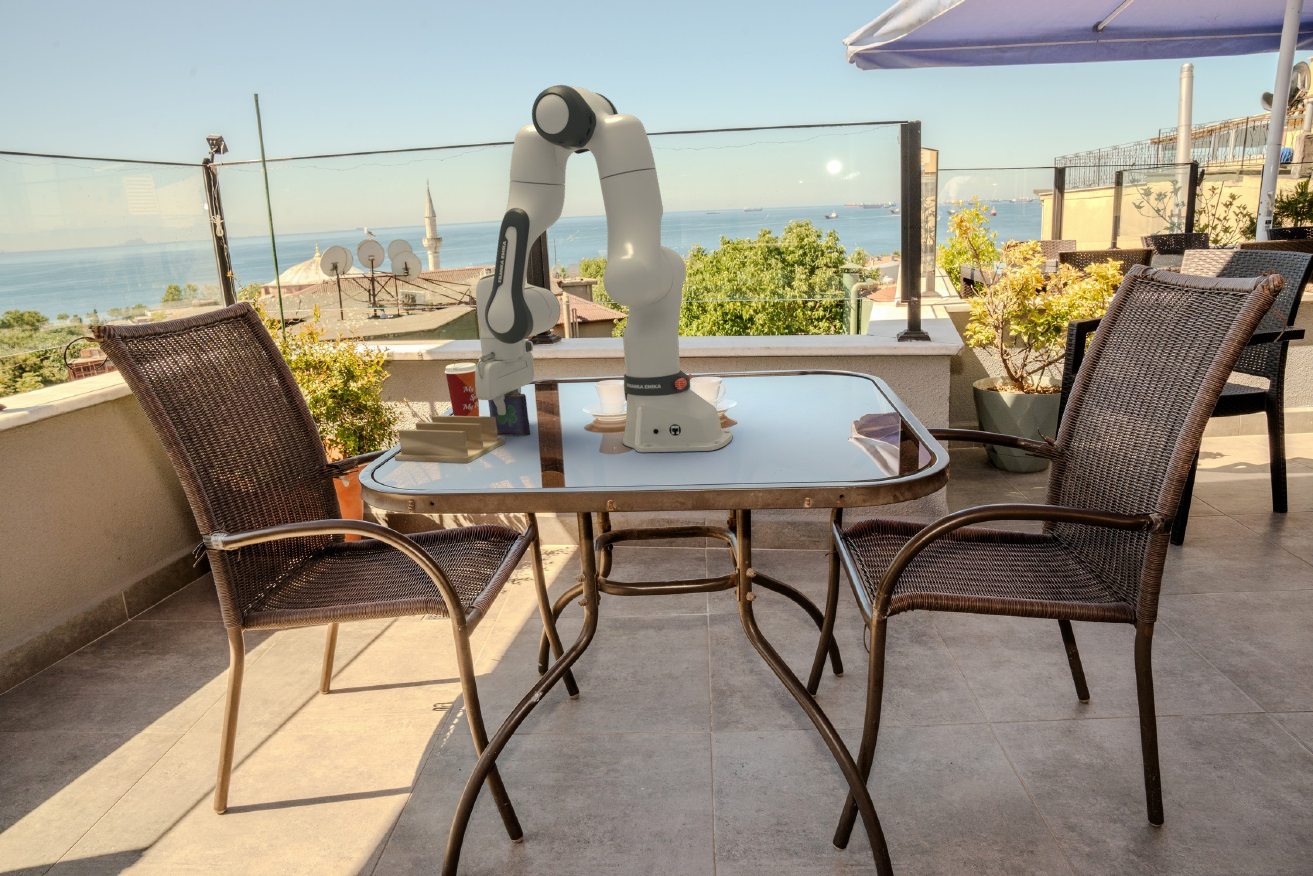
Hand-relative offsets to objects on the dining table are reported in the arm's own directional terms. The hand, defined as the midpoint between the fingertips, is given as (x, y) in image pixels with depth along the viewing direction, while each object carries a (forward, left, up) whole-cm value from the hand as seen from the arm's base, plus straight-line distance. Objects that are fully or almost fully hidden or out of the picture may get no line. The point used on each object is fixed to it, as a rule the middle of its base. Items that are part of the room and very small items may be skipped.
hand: (509, 411), depth 191 cm
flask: (0, 0, -5) cm, 5 cm away
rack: (+6, +15, -5) cm, 17 cm away
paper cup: (+16, -8, -5) cm, 19 cm away
